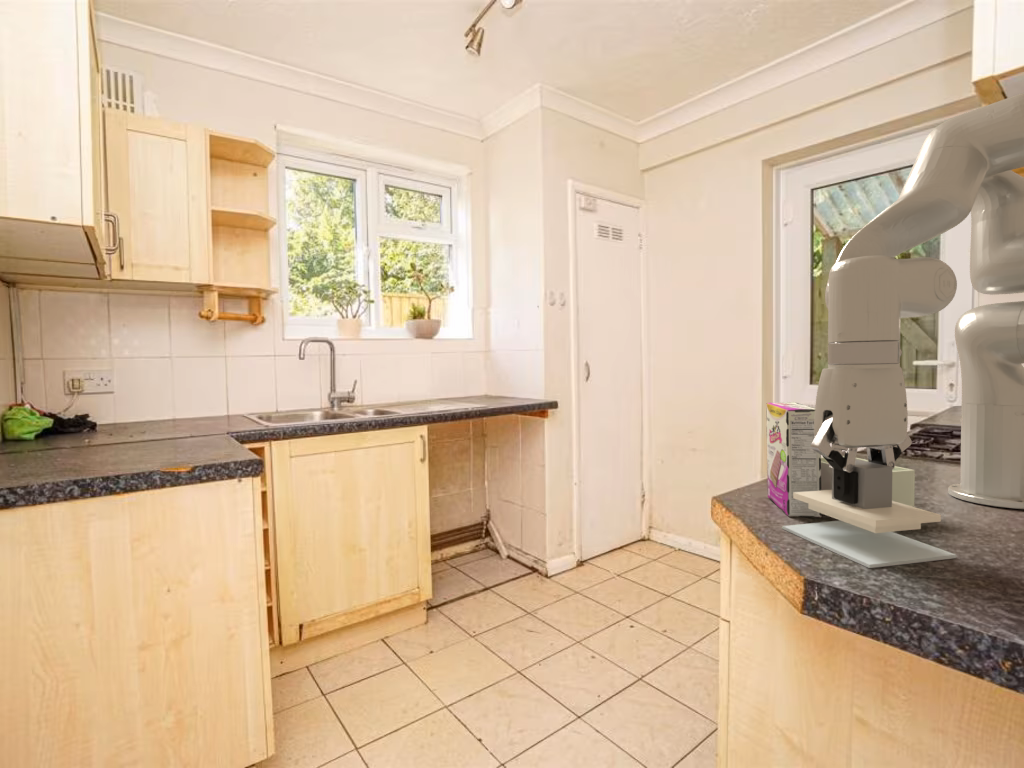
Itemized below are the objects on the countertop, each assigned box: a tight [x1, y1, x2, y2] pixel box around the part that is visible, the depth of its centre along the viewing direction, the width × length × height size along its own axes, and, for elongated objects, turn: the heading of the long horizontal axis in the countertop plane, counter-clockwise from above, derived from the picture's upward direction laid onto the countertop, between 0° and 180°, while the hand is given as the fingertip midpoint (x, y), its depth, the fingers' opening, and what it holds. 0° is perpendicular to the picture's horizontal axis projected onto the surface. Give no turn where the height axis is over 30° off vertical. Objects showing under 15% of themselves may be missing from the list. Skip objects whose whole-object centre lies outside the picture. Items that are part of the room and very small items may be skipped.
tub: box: [821, 455, 916, 507], centre depth 80 cm, size 8×12×7 cm, turn 11°
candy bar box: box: [765, 401, 822, 518], centre depth 81 cm, size 11×5×16 cm, turn 168°
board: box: [781, 520, 957, 569], centre depth 66 cm, size 12×14×1 cm
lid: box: [793, 460, 942, 533], centre depth 66 cm, size 9×13×7 cm
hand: (861, 498), depth 66 cm, fingers closed on lid, 4 cm apart
